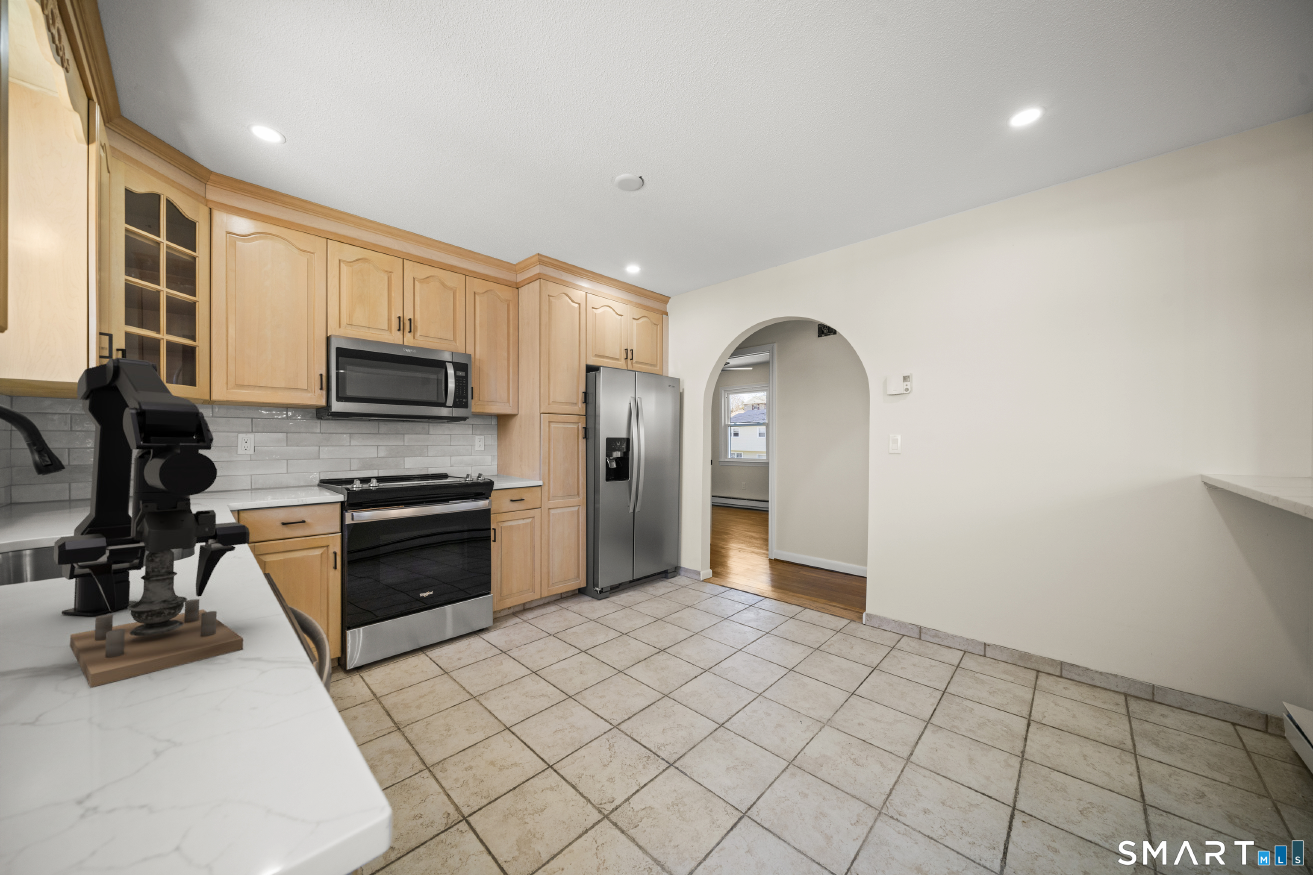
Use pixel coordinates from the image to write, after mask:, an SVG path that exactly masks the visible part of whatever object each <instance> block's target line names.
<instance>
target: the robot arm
mask: <svg viewBox="0 0 1313 875" xmlns="http://www.w3.org/2000/svg"><path fill="white" fill-rule="evenodd" d="M76 388H77V390H76V394H77V396H76V397H77V399H78V401H79V400H81V410H82V411H83V413H85V415H86V416H87V417H88V418H89V419H90V420H89V421H91V422H92V424H94V426H95V427H94V441H93V442H94V443H93V455H92V456H93V459H92V473H91V474H92V475H91V489H90V490H91V491H90V502H89V503H90V504H89V506H90V508H89V513H88V514H87V515H86V516H85V517H84V519H83V520H82V521H80V523H79V524H78V525H77V526H76V527H75V528H74V530H73V535H69V536H61V537H60V538H58V539H57V540H56V541H55V542H54V546H53V560H54V562H55V563H56V565H58V566H61V574H62V575H61V576H62V577H63V578H65V579H66V580H68V581H71V580H74V579H75V580H74V601H73V604H74V605H73V607H72V608H68V609H64V610H62V611H61V614H62V615H69V616H70V615H71V616H74V615H75V616H87V617H89V616H90V617H96V616H101V615H104V614H106V613H110V612H116V611H118V610H122V609H125V608H128V606H129V605H131V604H133V603H136V602H138V601H139V600H136V601H135V600H130V597H131V596H130V593H131V590H130V589H131V581H130V572H131V571H132V572H133V571H141V570H142V569H143V568H144V565H145V563H144V562H145V557H146V553H149V552H152V553H157V552H163V551H164V550H172V551H173V550H178V549H181V550H189V549H193V548H195V547H196V546H197V544H200V545H199V552H198V561H197V568H196V569H197V570H196V571H197V572H196V578H195V595H196V597H199V598H200V597H202V596H203V593H204V591H205V590H206V587H207V585H208V582H209V581H210V578H211V576H212V574H213V572H214V570H215V568H216V567H217V565H218V563H219V562H220V561H221V559H222V558H223V557H224V556H225V555H226V554H227V553H228V552H232V551H233V552H234V551H235V550H236V546H238V545H246V544H249V543H250V534H251V533H250V528H249V527H248V526H247V525H246V524H242V523H240V522H236V521H233V522H232V521H231V522H222V523H221V522H220V523H217V513H216V512H215V510H213V509H208V510H197V511H195V512H193V511H192V508H191V506H192V505H191V504H192V503H191V496H194V495H199V494H201V493H203V492H206V490H208V489H209V488H210V487H211V486H212V485H213V484H214V483H215V482H216V479H217V475H218V469H217V467H216V464H215V462H214V461H213V460H212V459H211V458H210V457H209V456H207V455H205V454H203V453H201V452H199V451H211V450H212V444H213V442H214V436H213V433H212V432H211V431H212V430H211V429H210V426H209V424H208V421H207V419H206V418H205V416H204V413H203V412H202V411H200V409H199V407H198V406H197V405H196V404H195V403H194V402H192V401H191V400H190V399H188V398H185V397H180V396H178V395H173V394H172V392H171V391H170V389H169V387H168V386H167V385H166V384H165V382H164V381H163V379H162V378H161V377H160V375H159V374H158V367H157V364H156V363H154V362H151V361H149V360H143V359H134V358H133V359H132V358H127V357H126V358H124V357H115V358H108V360H107V362H106V363H104V364H100V365H96V366H92V367H89V368H85V369H84V370H83V372H82V374H81V375H80V377H79V379H78V381H77V387H76ZM133 450H137V452H136V454H135V456H134V458H133V454H134V453H133ZM132 465H133V478H132ZM132 479H133V480H132ZM131 480H132V482H133V483H132V500H131V498H130V497H131ZM130 500H131V501H132V504H131V515H130Z"/></svg>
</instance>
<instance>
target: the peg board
mask: <svg viewBox="0 0 1313 875" xmlns="http://www.w3.org/2000/svg"><path fill="white" fill-rule="evenodd" d="M217 613H218V612H217V610H209V611H206V610H205V609H200V599H199V598H195V599H189V600H188V599H187V601H186V602H184V612H182V613H181V612H180V613H179V614H178V615H177V616H176V617H174V618H172V619H170V620H178V621H181V622H183V626H181V627H180V628H177V629H175V630H172V631H168V632H164V633H159V634H153V635H145V636H134V635H130V631H131V630H133V629H135V628H136V627H137V626H140V625H142V624H143V623H138V622H137V621H135V622H130V623H124V624H120V625H114V624H113V619H114V615H113V614H111V613H110V614H101V615H97V616H95V621H94V622H95V625H94V629H93V630H92V629H91V630H87V631H82V632H77V633H71V634H70V638H69V639H70V640H69V646H70V648H71V650H72V652H73V654H74V657H75V658H76V661H77V662H78V664H79V667H80V669H81V671H82V673H83V675H84V676H85V679H86V681H87V682H88V684H89V687H90V688H93V687H97V686H98V687H99V686H101V685H106V684H109V683H113V682H118V681H121V680H125V679H126V680H127V679H129V678H130V679H131V678H133V677H138V676H141V675H145V674H149V673H153V672H157V671H162V670H165V669H169V668H174V667H177V666H181V665H185V664H190V663H194V662H198V661H202V660H206V659H209V658H214V657H217V656H221V655H224V654H225V655H226V654H230V653H233V652H237V651H241V650H244V637H242V636H241V635H239V634H238V633H236V632H235V631H234V630H232V629H231V628H230V627H229V626H227V625H225V624H224V623H223V622H221V621H220V620H219V619H218V618H217ZM113 625H114V626H113Z"/></svg>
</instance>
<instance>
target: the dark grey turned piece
mask: <svg viewBox="0 0 1313 875" xmlns="http://www.w3.org/2000/svg"><path fill="white" fill-rule="evenodd" d="M144 562H145V563H144V565H145V566H144V574H143V575H142V576H141V577H140V579H141V580H142V581H143V591H142V595H141V598H140V599H139V600H137V601H138V602H136V603H133V604H131V605H129V606H128V607H127V610H128V611H130V616H131V618H132V619H133V621H135V622H138V623H143V624H142V625H140V626H137V627H136V628H135V629H133V630H131V631H130V635H134V636H145V635H153V634H159V633H164V632H168V631H172V630H175V629H177V628H180V627H181V626H183V622H181V621H178V620H170V619H172V618H174V617H176V616H177V615H178V614H181V612H182V610H183V609H184V608H185V602H186V601H188V598H187V597H186V596H179V595H177V594H176V592H175V587H174V586H175V576H177V575H178V573H177V571H174V570H175V569H174V568H175V567H174V566H175V553H174V551H173V549H172V550H164V551H163V552H157V553H152V552H147V554H145V560H144Z"/></svg>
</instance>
